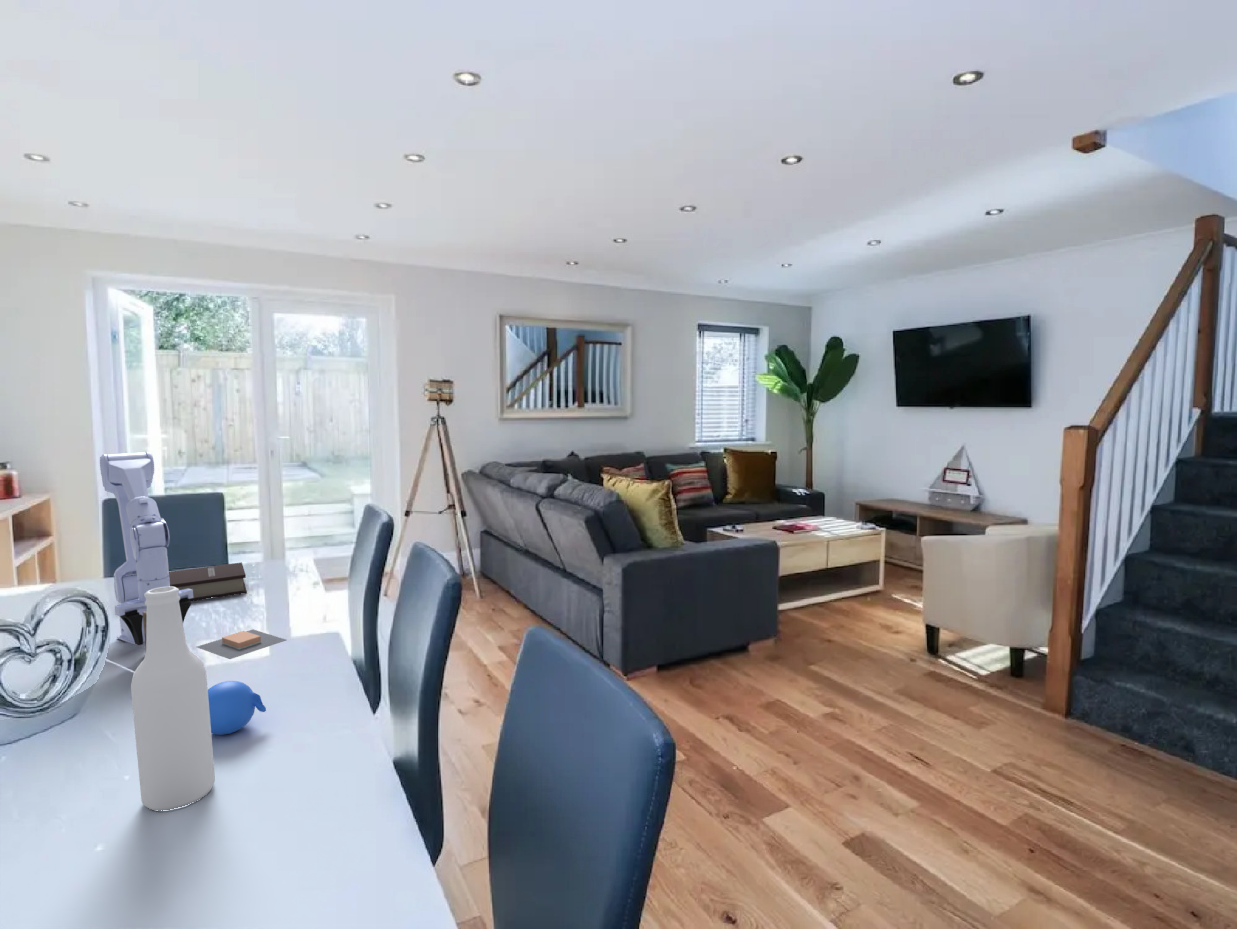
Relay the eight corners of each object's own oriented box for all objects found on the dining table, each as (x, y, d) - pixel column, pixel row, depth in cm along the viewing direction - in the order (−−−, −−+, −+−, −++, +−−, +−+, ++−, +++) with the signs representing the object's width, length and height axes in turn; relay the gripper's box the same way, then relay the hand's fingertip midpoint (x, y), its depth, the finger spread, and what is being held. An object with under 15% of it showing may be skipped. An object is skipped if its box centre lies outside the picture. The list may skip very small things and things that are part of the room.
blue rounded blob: (281, 707, 123) (278, 662, 122) (258, 739, 111) (254, 691, 110) (209, 713, 121) (205, 668, 120) (178, 747, 109) (174, 697, 108)
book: (242, 579, 212) (241, 561, 211) (247, 594, 195) (245, 574, 195) (133, 594, 197) (131, 574, 196) (128, 612, 180) (126, 590, 180)
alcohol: (134, 820, 90) (113, 603, 87) (150, 786, 98) (131, 585, 95) (210, 804, 94) (193, 594, 91) (219, 772, 102) (203, 578, 99)
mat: (196, 648, 152) (196, 646, 152) (253, 630, 163) (253, 629, 163) (229, 660, 145) (229, 658, 145) (287, 641, 156) (286, 639, 156)
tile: (221, 637, 154) (238, 643, 150) (243, 630, 158) (260, 636, 154) (222, 643, 154) (239, 649, 150) (244, 636, 158) (261, 642, 154)
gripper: (123, 588, 138) (129, 652, 139) (198, 572, 150) (203, 631, 152) (108, 583, 142) (114, 646, 143) (182, 568, 154) (187, 625, 155)
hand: (158, 638), depth 148 cm, fingers open, 7 cm apart
